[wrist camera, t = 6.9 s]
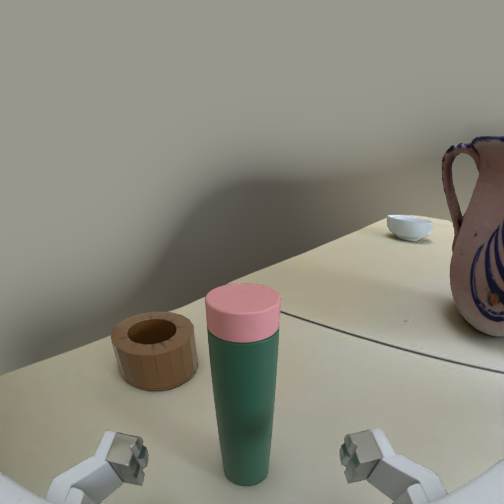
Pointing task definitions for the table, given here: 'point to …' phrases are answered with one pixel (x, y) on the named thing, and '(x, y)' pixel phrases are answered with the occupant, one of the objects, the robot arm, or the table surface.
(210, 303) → the pink-capped green cylinder
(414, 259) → the table surface
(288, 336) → the table surface
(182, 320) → the brown hollow cylinder
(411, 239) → the cereal bowl
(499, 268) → the ceramic pitcher
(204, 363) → the table surface
